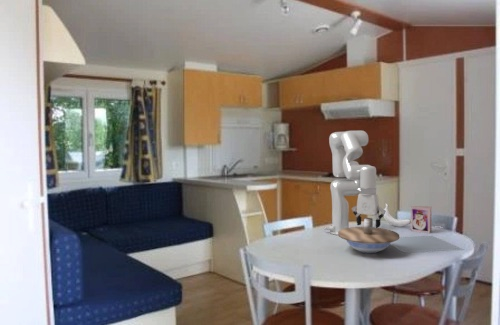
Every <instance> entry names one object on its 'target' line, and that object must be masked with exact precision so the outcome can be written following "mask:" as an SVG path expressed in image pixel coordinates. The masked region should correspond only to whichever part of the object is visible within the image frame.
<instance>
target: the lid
mask: <svg viewBox="0 0 500 325" xmlns="http://www.w3.org/2000/svg"><path fill="white" fill-rule="evenodd" d="M373 224H374V222H373V218H372V217H365V218H363V226H352V227H351V226H350V227H349V228H345V229H342V230H340V231H339V232H338V235H337V236H338V237H339V238H341V239H343V240H345V241H347V240H348V241H353V242H359V243H371V244H380V243H390V242H394V241H397V240H398V239H399V237H400V234H399V233H398V232H396V231H395V230H391V229H387V228H382V227H378V228H376V226H375V227H374V226H373Z"/></svg>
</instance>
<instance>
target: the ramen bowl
mask: <svg viewBox="0 0 500 325" xmlns="http://www.w3.org/2000/svg"><path fill="white" fill-rule="evenodd" d="M346 242H347V243H348V244H349V246H350V247H351V248H353V249H354V250H356V251H358V252H360V253H363V254H376V253H378V252H380V251H383V250H385V249H386V248H388V247H389V246H390V243H391V242H390V243H380V244H371V243H359V242H353V241H348V240H346Z"/></svg>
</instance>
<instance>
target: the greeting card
mask: <svg viewBox="0 0 500 325" xmlns="http://www.w3.org/2000/svg"><path fill="white" fill-rule="evenodd" d="M432 210H433V209H432V206H427V205H425V206H422V205H420V206H419V205H418V206H413V205H412V206H410V220H411V223H410V232H419V233H425V234H430V233H431V231H432V214H433V213H432V212H433V211H432Z"/></svg>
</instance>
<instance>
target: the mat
mask: <svg viewBox="0 0 500 325" xmlns="http://www.w3.org/2000/svg"><path fill="white" fill-rule="evenodd" d="M389 246H391V247H393V248H396V249H397V250H398V251H400V252H402V253H422V252H423V253H424V252H444V251H445V252H448V251H451V252H452V251H465V248H462V247H460V246H457V245H455V244H453V243H450V242H448V241H446V240H444V239H442V238H439V237H437V236H434V235H420V236H419V235H417V236H413V235H412V236H399V239H398V240H397V241H394V242H391V243H390V244H389Z"/></svg>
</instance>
